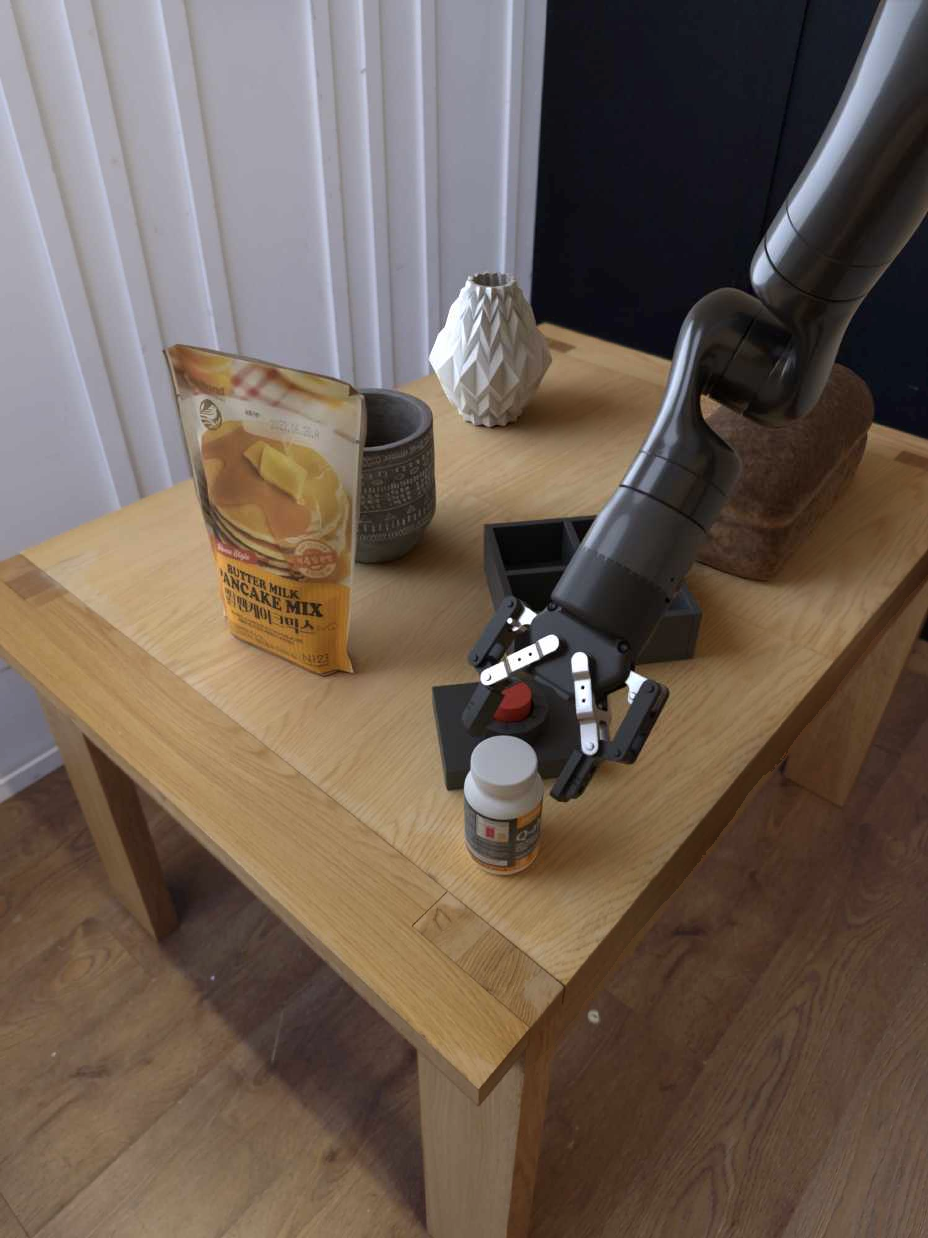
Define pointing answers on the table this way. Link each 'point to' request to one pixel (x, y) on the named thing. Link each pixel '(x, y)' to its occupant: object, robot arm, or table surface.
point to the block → (506, 730)
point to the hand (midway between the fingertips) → (512, 765)
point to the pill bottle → (503, 805)
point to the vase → (490, 351)
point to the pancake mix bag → (276, 497)
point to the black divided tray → (536, 561)
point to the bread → (787, 477)
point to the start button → (514, 704)
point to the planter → (395, 475)
